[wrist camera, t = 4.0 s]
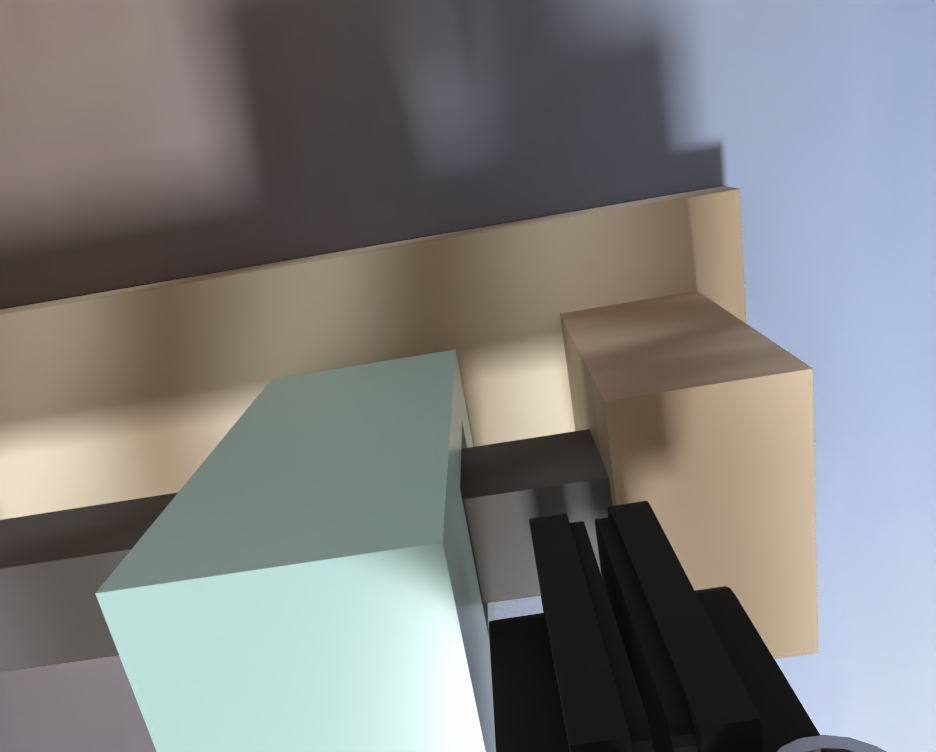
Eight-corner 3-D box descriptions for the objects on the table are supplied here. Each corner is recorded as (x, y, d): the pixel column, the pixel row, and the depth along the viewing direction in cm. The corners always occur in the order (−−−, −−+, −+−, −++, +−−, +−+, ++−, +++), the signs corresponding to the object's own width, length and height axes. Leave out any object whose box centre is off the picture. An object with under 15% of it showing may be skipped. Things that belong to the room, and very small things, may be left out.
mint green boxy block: (455, 349, 15) (441, 542, 8) (490, 538, 17) (505, 847, 9) (270, 379, 15) (95, 593, 8) (321, 563, 17) (208, 884, 10)
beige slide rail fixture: (723, 185, 16) (1020, 243, 7) (743, 539, 19) (974, 881, 10) (-366, 372, 17) (-1184, 602, 9) (-196, 674, 20) (-691, 1074, 12)
